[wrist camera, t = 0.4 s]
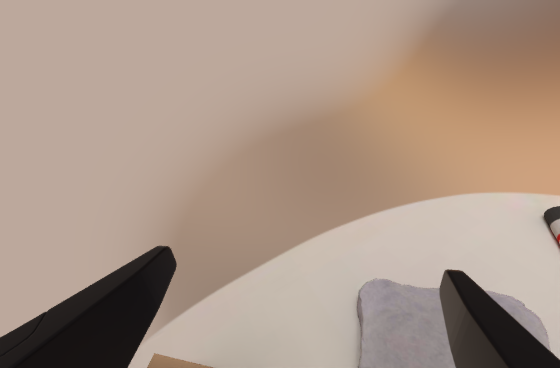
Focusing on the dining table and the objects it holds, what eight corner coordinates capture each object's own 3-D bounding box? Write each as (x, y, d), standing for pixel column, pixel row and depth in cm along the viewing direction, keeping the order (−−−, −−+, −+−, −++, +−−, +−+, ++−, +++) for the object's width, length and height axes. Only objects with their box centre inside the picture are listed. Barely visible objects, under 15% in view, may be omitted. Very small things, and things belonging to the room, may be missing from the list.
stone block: (571, 496, 15) (517, 308, 21) (628, 523, 12) (544, 288, 17) (354, 431, 19) (358, 290, 25) (347, 436, 16) (354, 270, 22)
